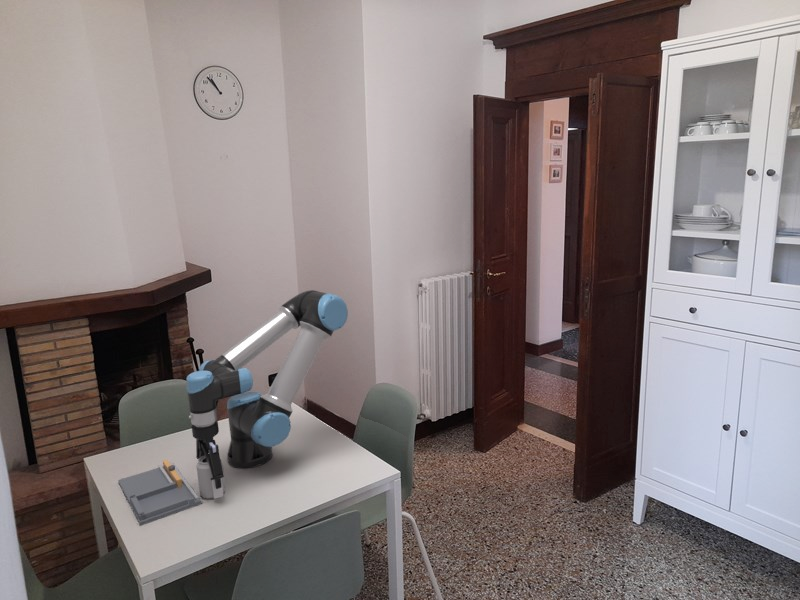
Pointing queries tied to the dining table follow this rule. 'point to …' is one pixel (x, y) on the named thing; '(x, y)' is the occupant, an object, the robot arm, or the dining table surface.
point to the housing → (157, 494)
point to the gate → (172, 473)
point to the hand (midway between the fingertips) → (212, 489)
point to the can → (206, 478)
